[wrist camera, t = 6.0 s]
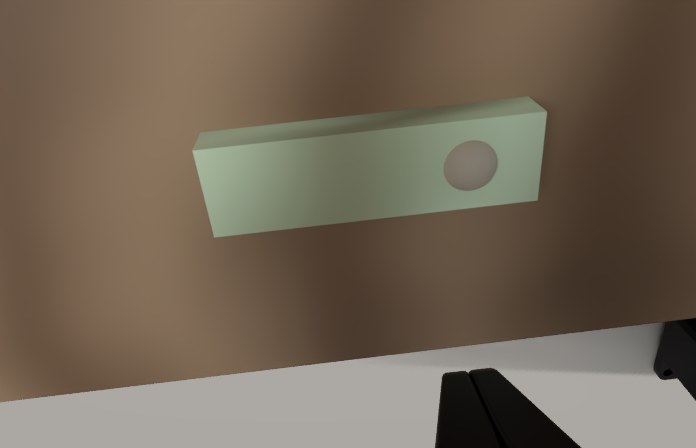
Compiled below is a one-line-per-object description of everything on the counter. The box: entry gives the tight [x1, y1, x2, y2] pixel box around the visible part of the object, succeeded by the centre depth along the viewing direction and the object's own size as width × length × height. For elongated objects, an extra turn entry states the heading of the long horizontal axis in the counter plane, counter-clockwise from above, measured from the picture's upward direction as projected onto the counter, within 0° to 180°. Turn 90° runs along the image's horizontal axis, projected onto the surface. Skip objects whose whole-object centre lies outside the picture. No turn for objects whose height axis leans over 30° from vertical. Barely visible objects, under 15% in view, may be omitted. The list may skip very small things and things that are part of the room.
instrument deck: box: [0, 0, 696, 402], centre depth 12 cm, size 22×12×2 cm, turn 95°
